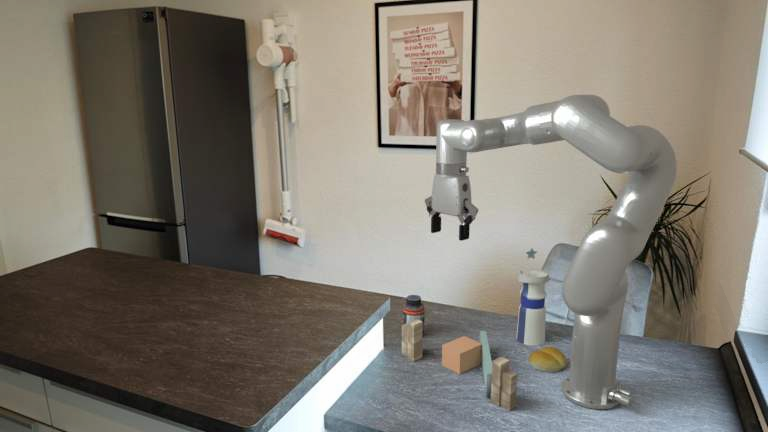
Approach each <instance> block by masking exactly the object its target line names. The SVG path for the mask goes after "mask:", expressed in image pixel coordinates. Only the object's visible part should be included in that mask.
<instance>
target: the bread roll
mask: <svg viewBox="0 0 768 432" xmlns="http://www.w3.org/2000/svg"><path fill="white" fill-rule="evenodd" d="M528 362H529V363H530V365H531V367H532V368H534V369H535V370H537V371H539V372H540V371H541V372H545V373H546V372H547V373H556V372H557V373H558V372H560V371H561V370H564V369H565V368H566V367H567V364H568V360H567V358H566V356H565V354H564V353H563V352H562V351H561V350H560V349H558V348H555V347H552V346H543V347H542V348H541V349H539V350H536V351H535V350H534V351H533V352H531V353H530V354H529V356H528Z"/></svg>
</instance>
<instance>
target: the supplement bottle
mask: <svg viewBox="0 0 768 432" xmlns="http://www.w3.org/2000/svg"><path fill="white" fill-rule="evenodd" d="M405 302H406V303H404V304H403V307H402V325H404V324H407V323H408V322H410V321H412V320H415V319H418V320H420V321H422V322H423V330H422V337H423V336H424V335H425V306H424V304H423V303H422V297H421V296H420V295H418V294H409V295H407V297H406V301H405Z"/></svg>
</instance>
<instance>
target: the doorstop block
mask: <svg viewBox="0 0 768 432" xmlns="http://www.w3.org/2000/svg"><path fill="white" fill-rule="evenodd" d="M481 363H482V344H481V343H480V341H476V340H474V339H472V338H470V337H468V336H466V335H463V336H461V337H458V338H455V339H453V340H451V341H448V342H445V343H444V344H442V345H441V366H444V368H447V369H449V370H451V371H452V372H454V371H455V373H456V374H459V375H461V374H463V373H465V372H467V371H469V370H471V368H472V369H473V367H474V368H475V366H476V367H478V366H480V365H482V364H481ZM479 364H480V365H479ZM477 365H478V366H477Z"/></svg>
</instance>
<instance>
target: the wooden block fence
mask: <svg viewBox="0 0 768 432" xmlns="http://www.w3.org/2000/svg"><path fill="white" fill-rule="evenodd" d="M422 330H423V322H422V321H420V320H418V319H415V320H412V321H410V322H408V323H407V324H404V325H403V324H402V325H401V354H402V355H403V356H405V357H407V359H408V360H409V361H412V362H416V361H418V360H421V359H422V358H423V336H422ZM517 385H518V373H516V372H514V371H512V370H510V360H509V359H508V358H506V357H503V356H499V357H497V358H495V359H493V360H492V381H491V398H490V403H491V404H493V405H494V404H495V406H496V407H497V408H498V407H500V408H503V409H504V410H507V411H508V412H510V411H512V410H514V409H516V403H517V402H516V400H517Z"/></svg>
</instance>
